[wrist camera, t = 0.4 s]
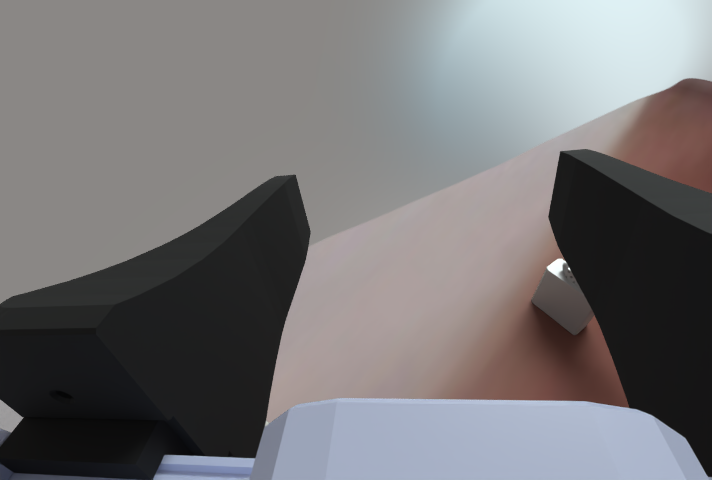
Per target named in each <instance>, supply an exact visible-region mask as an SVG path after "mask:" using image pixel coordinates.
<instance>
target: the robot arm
mask: <svg viewBox="0 0 712 480" xmlns="http://www.w3.org/2000/svg"><path fill="white" fill-rule="evenodd" d="M548 217H549V221H550V224H551V227H552V230H553V233H554V236H555V239H556V242H557V245H558V247H559V249H560V251H561V253H562V255H563V257H564V259H565V261H566V263H567V264H568V266H569V268H570V270H571V272H572V274H573V276H574V278H575V279H576V281H577V283H578V285H579V287H580V289H581V290H582V292H583V294H584V296H585V298H586V300H587V302H588V303H589V305H590V307H591V309H592V311H593V313H594V315H595V317H596V319H597V321H598V323H599V325H600V328H601V330H602V333H603V335H604V338H605V341H606V343H607V346H608V348H609V351H610V354H611V356H612V359H613V361H614V364H615V367H616V370H617V373H618V375H619V378H620V381H621V384H622V387H623V390H624V392H625V395H626V398H627V401H628V404H629V407H630V408H624V407H618V406H611V405H605V404H599V403H592V402H586V401H527V400H448V399H369V398H338V399H331V400H324V401H317V402H310V403H303V404H298V405H296V406H294V407H292V408H290V409H288V410H287V411H286V412H284V413H283V414H282V415H280V416H279V417H278V418H276V419H275V420H273V421H272V422H271V423H269V424H268V425H267V426H265V423H266V417H267V410H268V404H269V398H270V392H271V386H272V381H273V375H274V370H275V364H276V359H277V355H278V350H279V345H280V340H281V336H282V331H283V328H284V324H285V321H286V317H287V314H288V311H289V309H290V306H291V303H292V300H293V297H294V294H295V291H296V288H297V285H298V282H299V279H300V276H301V273H302V270H303V267H304V264H305V260H306V256H307V251H308V245H309V238H310V228H309V224H308V220H307V216H306V213H305V209H304V205H303V201H302V198H301V194H300V190H299V186H298V182H297V179H296V175H288V176H276V177H274V178H271V179H270V180H268V181H266V182H265V183H263V184H261V185H260V186H259V187H257V188H256V189H254V190H253V191H251V192H250V193H248V194H247V195H245V196H244V197H243V198H241V199H240V200H238V201H237V202H235V203H234V204H232V205H231V206H230V207H228V208H227V209H225V210H223V211H222V212H220V213H219V214H217V215H216V216H214V217H213V218H211V219H209V220H208V221H206V222H205V223H203V224H201V225H200V226H198V227H196V228H195V229H193V230H191V231H189V232H187V233H186V234H184V235H182V236H180V237H178V238H176V239H174V240H172V241H170V242H168V243H166V244H164V245H162V246H160V247H157V248H155V249H153V250H151V251H148V252H146V253H144V254H141V255H139V256H137V257H134V258H132V259H130V260H127V261H125V262H122V263H120V264H117V265H114V266H111V267H109V268H106V269H104V270H100V271H97V272H95V273H92V274H89V275H86V276H83V277H80V278H76V279H73V280H71V281H67V282H64V283H60V284H57V285H53V286H49V287H45V288H42V289H38V290H35V291H31V292H28V293H24V294H20V295H16V296H13V297H11V298H9V299H7V300H6V301H4V302H2V303H1V304H0V399H1V400H2V401H3V402H4V403H6V404H7V405H8V406H9V407H11V408H12V409H13V410H14V411H16V412H17V413H18V414H19V415H21V416H22V417H24V418H23V419H22V421H21V422H20V423H19V424H18V425H17V427H16V428H15V429H14V430H13V432H12V433H10V432H8V431H5V430H2V429H0V480H712V193H709V192H705V191H702V190H699V189H696V188H693V187H690V186H687V185H684V184H681V183H678V182H676V181H673V180H670V179H667V178H665V177H662V176H659V175H657V174H654V173H651V172H649V171H646V170H644V169H641V168H639V167H636V166H633V165H631V164H628V163H626V162H623V161H621V160H618V159H616V158H613V157H610V156H608V155H605V154H602V153H599V152H596V151H592V150H588V149H581V150H570V151H560V156H559V161H558V167H557V172H556V178H555V183H554V189H553V194H552V200H551V205H550V211H549V216H548Z"/></svg>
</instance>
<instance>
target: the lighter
mask: <svg viewBox="0 0 712 480" xmlns="http://www.w3.org/2000/svg"><path fill="white" fill-rule="evenodd" d="M531 301H532V303H533V304H535V305H536V306H537V307H538V308H540V309H541V310H542V311H544V312H545V313H546V314H547V315H549V316H550V317H551V318H552V319H554V320H555V321H556V322H557V323H559V324H560V325H561V326H563V327H564V328H565V329H566V330H568V331H569V332H570V333H571V334H573V335H577V334H578V333H579V332H580V331H581V330H582V329H583V328H585V327H586V326H587V325H588V323H589V322H590V320H591V319H592V318H593V316H594V313H593V311H592V309H591V307H590V305H589V303H588V302H587V300H586V298H585V296H584V294H583V292H582V290H581V289H580V287H579V285H578V283H577V281H576V279H575V278H574V276H573V274H572V272H571V270H570V268H569V266H568V264H567V263H566V262H565V261H564V260H562V259H557V260H556V261H555V262H553V263H552V264H551V265H549V266H548V267H547V268H546V270H545V272H544V274H543V277H542V279H541V281H540V283H539V285H538V287H537V289H536V291H535V293H534V295H533V297H532V299H531Z"/></svg>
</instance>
